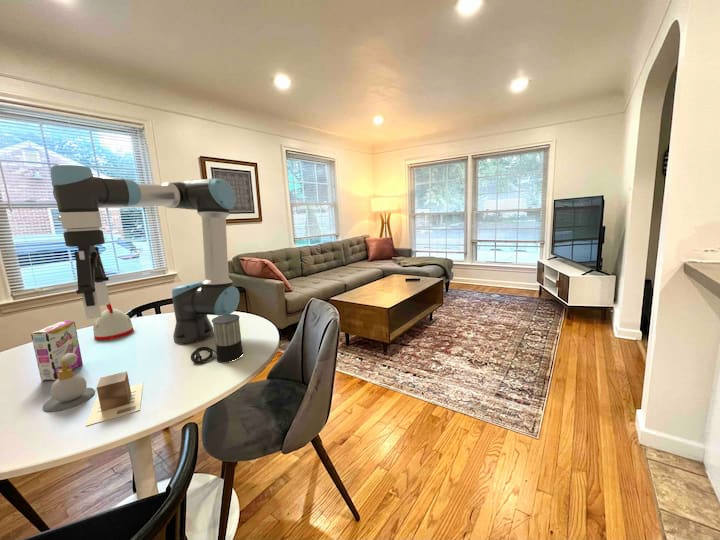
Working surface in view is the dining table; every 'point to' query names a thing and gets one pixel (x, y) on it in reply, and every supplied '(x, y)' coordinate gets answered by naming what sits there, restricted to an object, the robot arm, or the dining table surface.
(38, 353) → the candy bar box
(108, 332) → the white and red dome
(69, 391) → the perfume bottle
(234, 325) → the milk frother
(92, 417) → the letter
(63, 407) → the grey smooth round part
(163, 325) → the dining table surface
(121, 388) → the walnut block
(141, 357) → the dining table surface
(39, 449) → the dining table surface
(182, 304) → the robot arm
